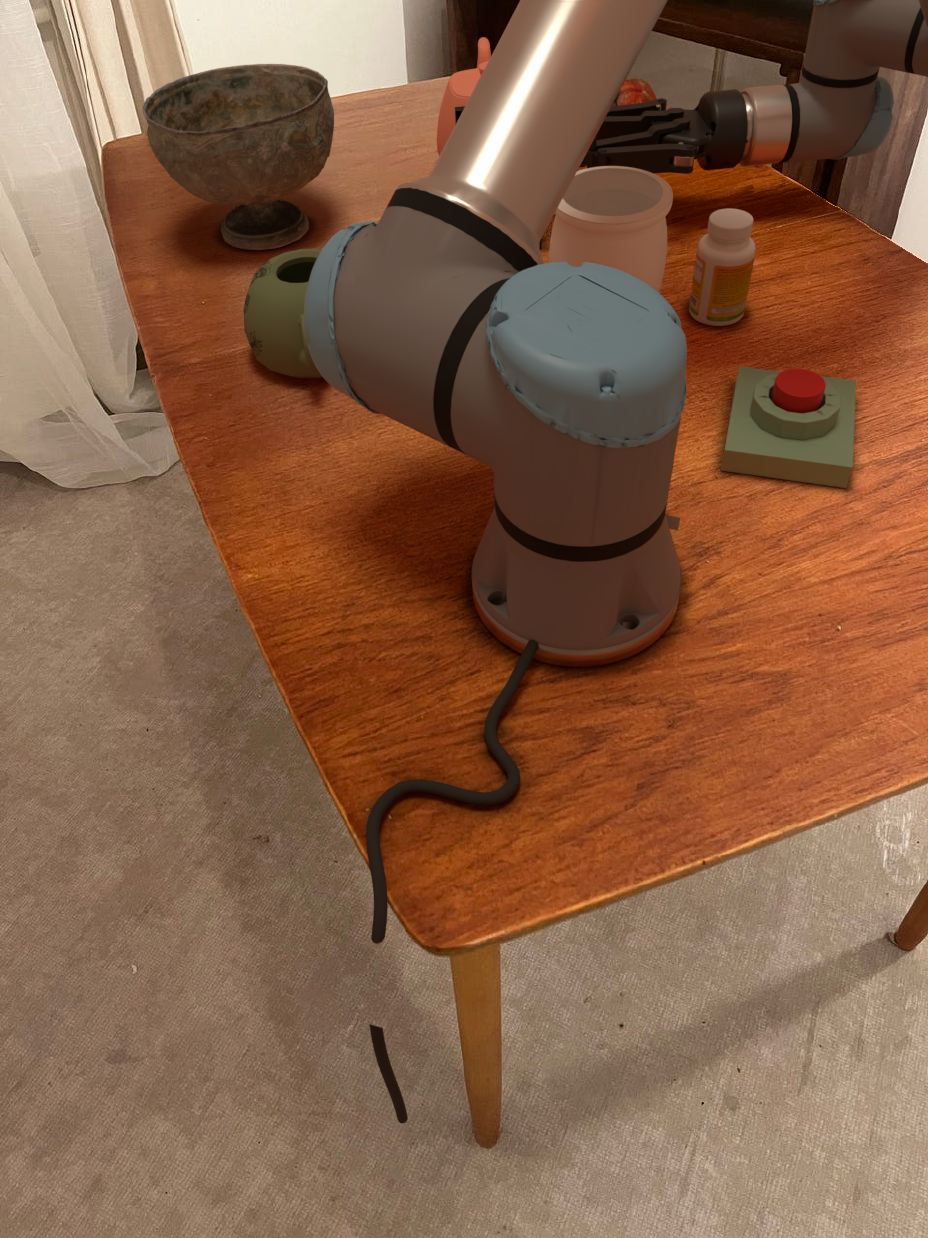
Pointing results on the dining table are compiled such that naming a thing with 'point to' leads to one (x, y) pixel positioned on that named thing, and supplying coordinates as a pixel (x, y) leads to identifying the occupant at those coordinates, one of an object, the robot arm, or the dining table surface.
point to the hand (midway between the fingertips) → (520, 148)
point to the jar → (614, 222)
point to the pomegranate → (634, 93)
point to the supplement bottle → (723, 268)
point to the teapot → (460, 93)
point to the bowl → (245, 144)
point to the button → (798, 390)
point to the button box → (790, 432)
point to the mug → (281, 314)
